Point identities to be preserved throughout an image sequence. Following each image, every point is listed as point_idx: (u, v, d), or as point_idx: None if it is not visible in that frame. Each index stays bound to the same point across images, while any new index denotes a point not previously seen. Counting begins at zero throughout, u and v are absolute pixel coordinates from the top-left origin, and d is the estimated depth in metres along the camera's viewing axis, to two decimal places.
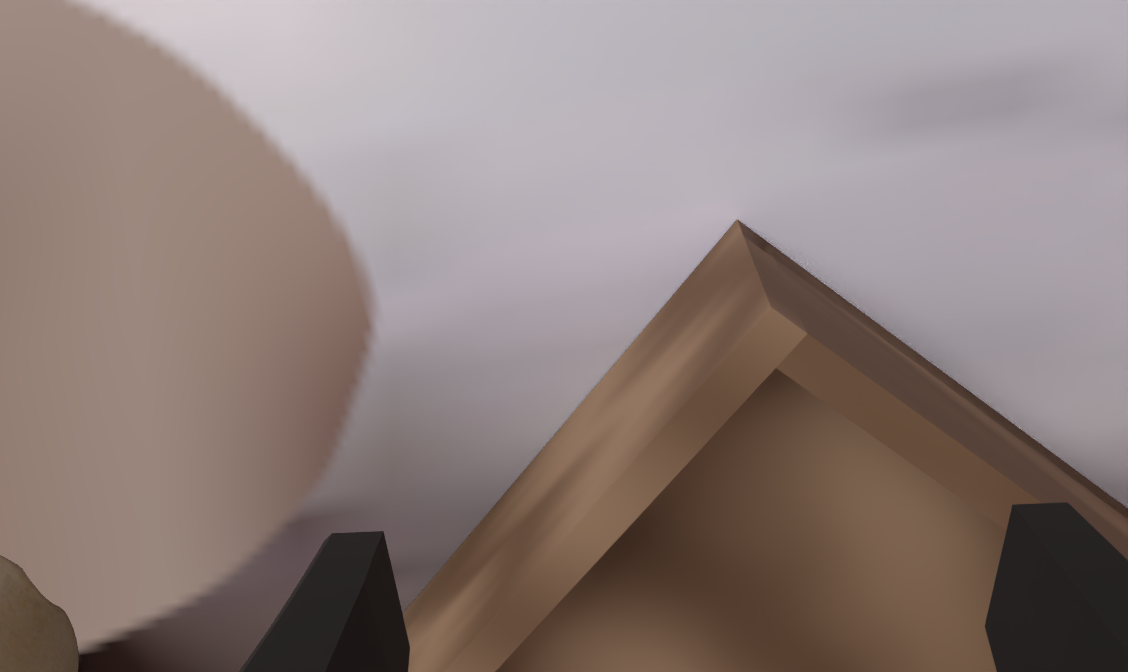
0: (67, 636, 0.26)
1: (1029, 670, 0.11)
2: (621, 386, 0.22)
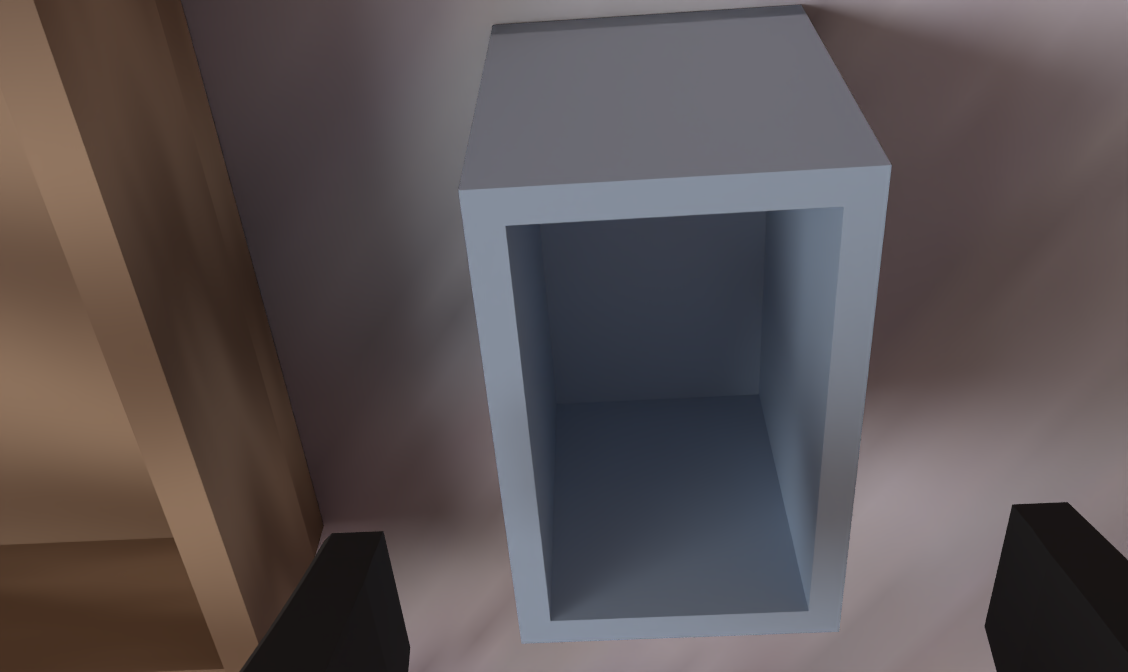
0: None
1: (1029, 670, 0.11)
2: None
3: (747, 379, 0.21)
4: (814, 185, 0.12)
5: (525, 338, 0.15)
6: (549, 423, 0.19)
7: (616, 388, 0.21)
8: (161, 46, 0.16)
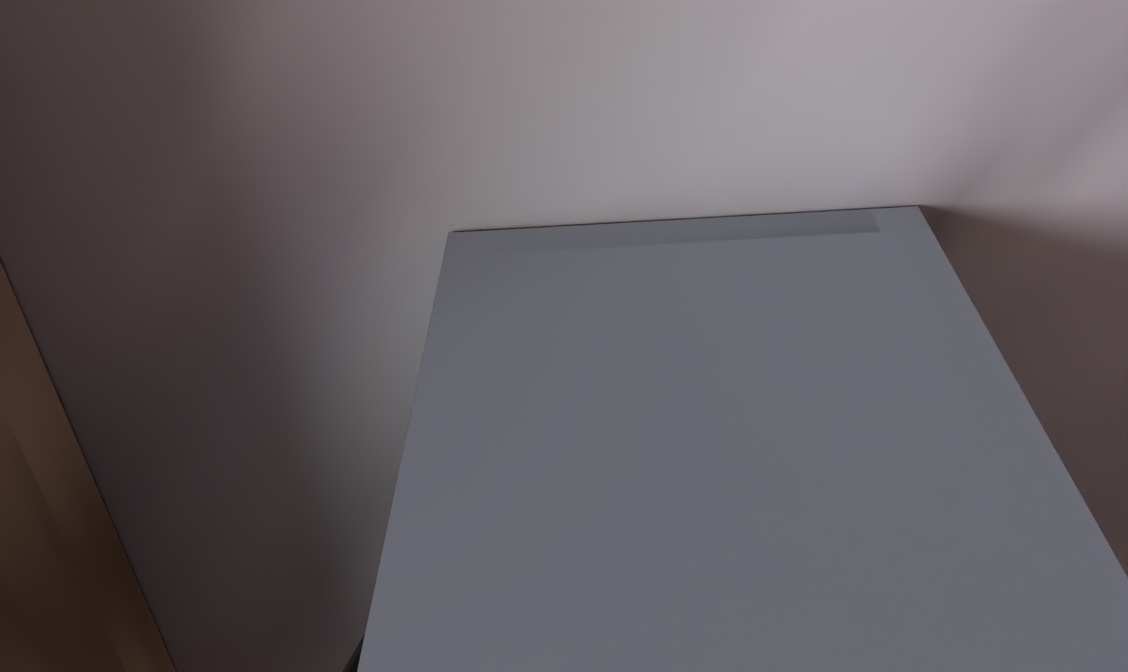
0: None
1: None
2: None
3: None
4: None
5: None
6: None
7: None
8: None
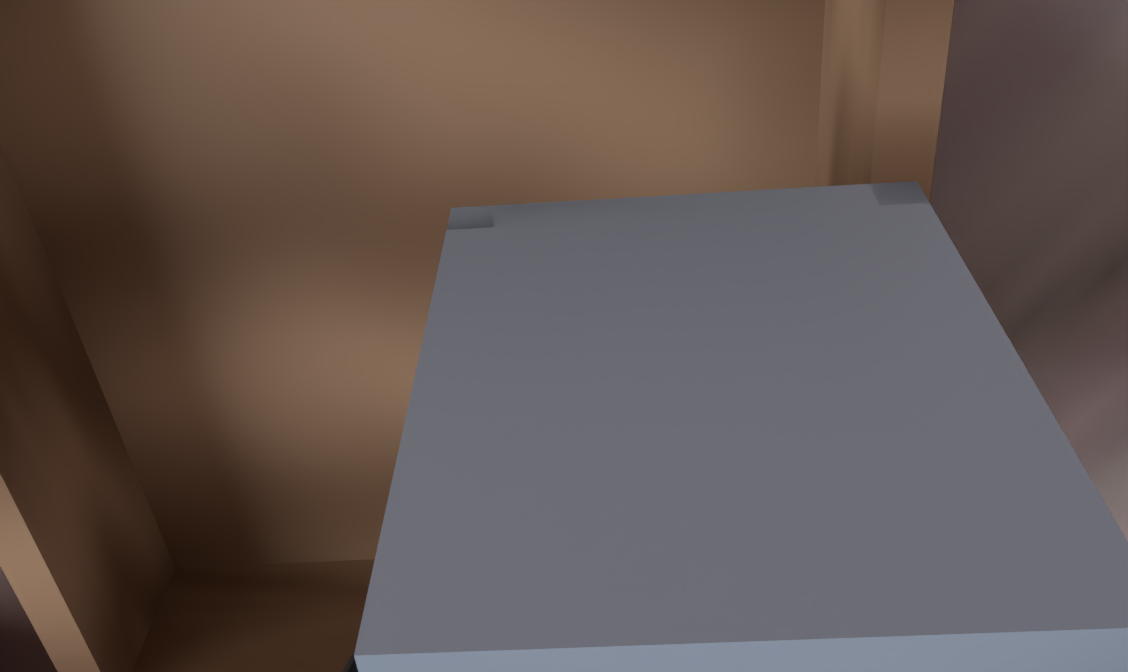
0: None
1: None
2: None
3: None
4: (1024, 654, 0.07)
5: None
6: None
7: None
8: None
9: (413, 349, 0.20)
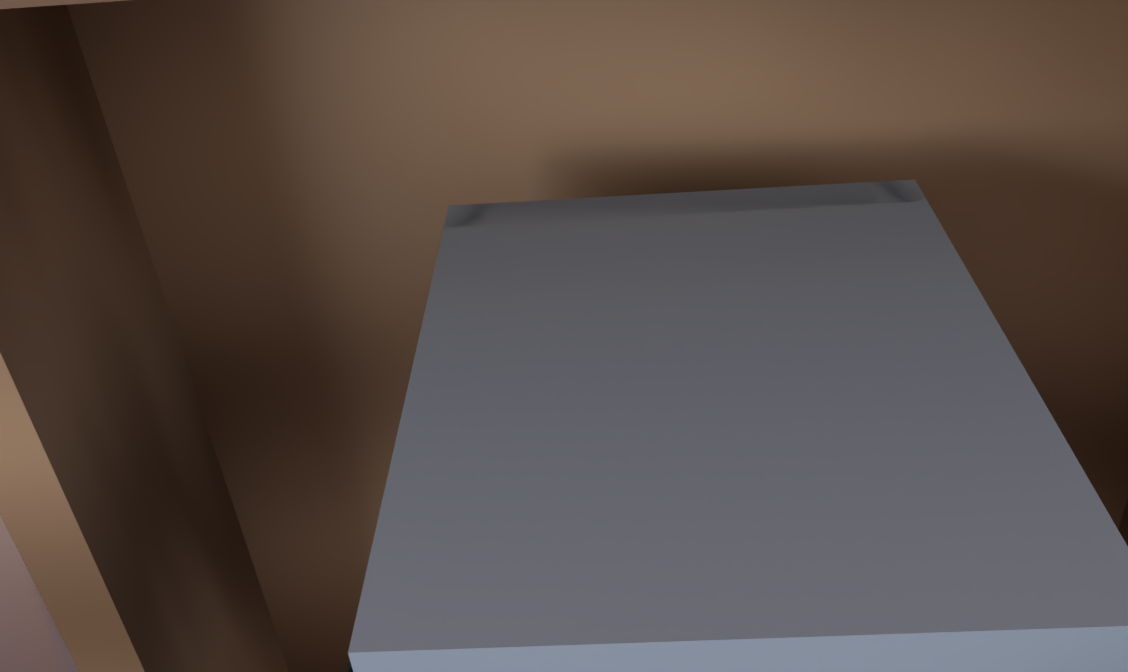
0: None
1: None
2: None
3: None
4: (1020, 652, 0.07)
5: None
6: None
7: None
8: None
9: None
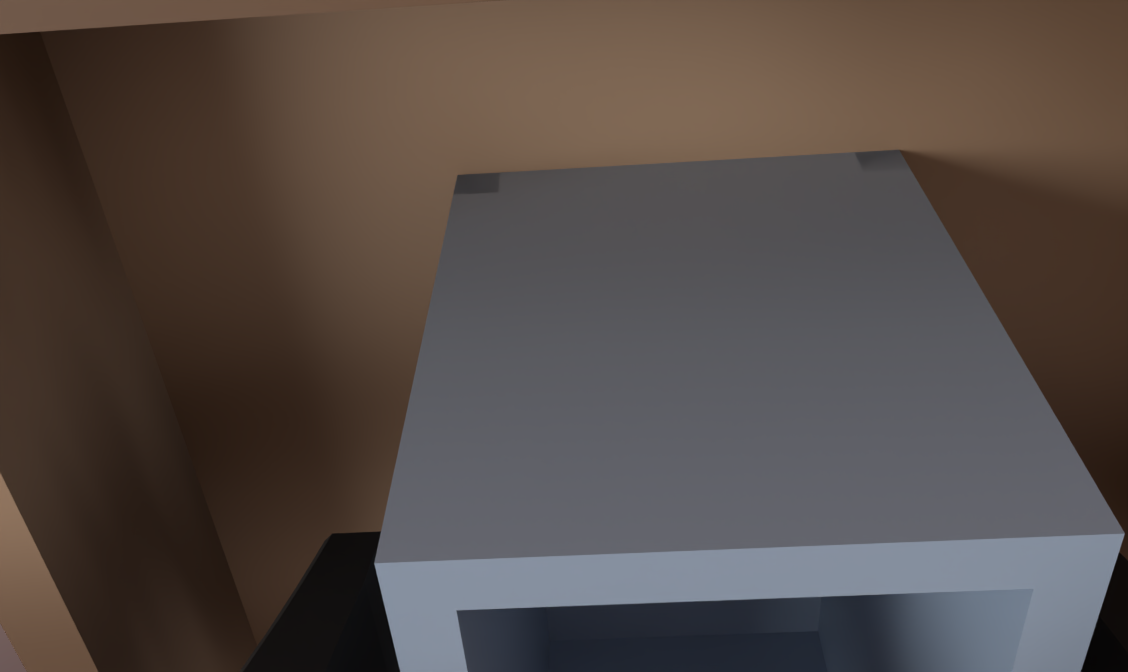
0: None
1: None
2: None
3: (804, 614, 0.16)
4: (987, 561, 0.07)
5: None
6: None
7: (629, 623, 0.16)
8: None
9: None
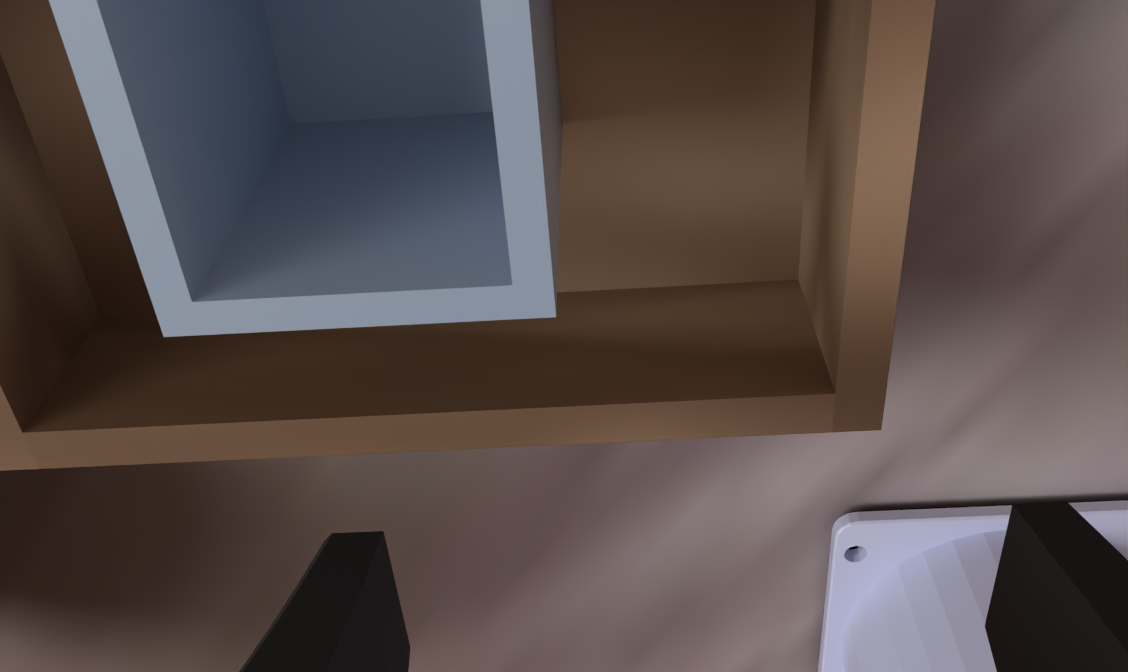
0: None
1: (1029, 670, 0.11)
2: None
3: None
4: None
5: None
6: (239, 103, 0.15)
7: (359, 101, 0.17)
8: None
9: None
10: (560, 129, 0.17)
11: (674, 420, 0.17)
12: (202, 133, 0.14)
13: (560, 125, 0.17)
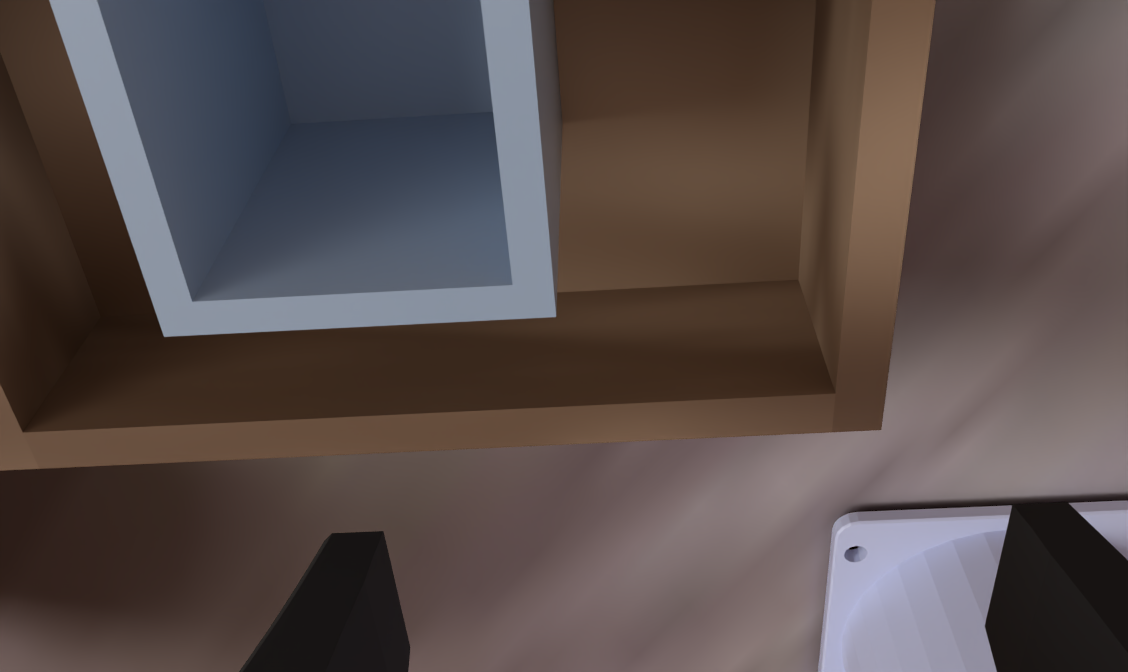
0: None
1: (1029, 670, 0.11)
2: None
3: None
4: None
5: None
6: (240, 103, 0.15)
7: (359, 101, 0.17)
8: None
9: None
10: (560, 129, 0.17)
11: (674, 420, 0.17)
12: (202, 133, 0.14)
13: (560, 125, 0.17)
